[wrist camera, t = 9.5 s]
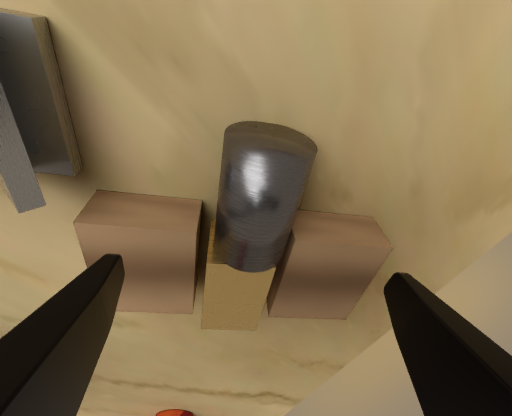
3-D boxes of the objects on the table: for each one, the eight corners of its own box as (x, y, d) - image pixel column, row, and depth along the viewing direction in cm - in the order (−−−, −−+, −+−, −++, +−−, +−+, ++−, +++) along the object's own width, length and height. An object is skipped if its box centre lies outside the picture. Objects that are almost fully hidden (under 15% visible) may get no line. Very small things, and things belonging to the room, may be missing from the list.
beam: (334, 287, 23) (345, 319, 21) (115, 275, 21) (100, 310, 18) (373, 217, 19) (392, 248, 16) (97, 189, 16) (73, 222, 14)
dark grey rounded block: (270, 219, 19) (294, 267, 16) (208, 223, 18) (220, 277, 14) (294, 123, 15) (334, 161, 12) (216, 118, 14) (237, 160, 10)
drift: (252, 285, 23) (255, 330, 20) (205, 282, 22) (200, 328, 19) (269, 223, 19) (276, 267, 16) (211, 217, 18) (206, 263, 15)
